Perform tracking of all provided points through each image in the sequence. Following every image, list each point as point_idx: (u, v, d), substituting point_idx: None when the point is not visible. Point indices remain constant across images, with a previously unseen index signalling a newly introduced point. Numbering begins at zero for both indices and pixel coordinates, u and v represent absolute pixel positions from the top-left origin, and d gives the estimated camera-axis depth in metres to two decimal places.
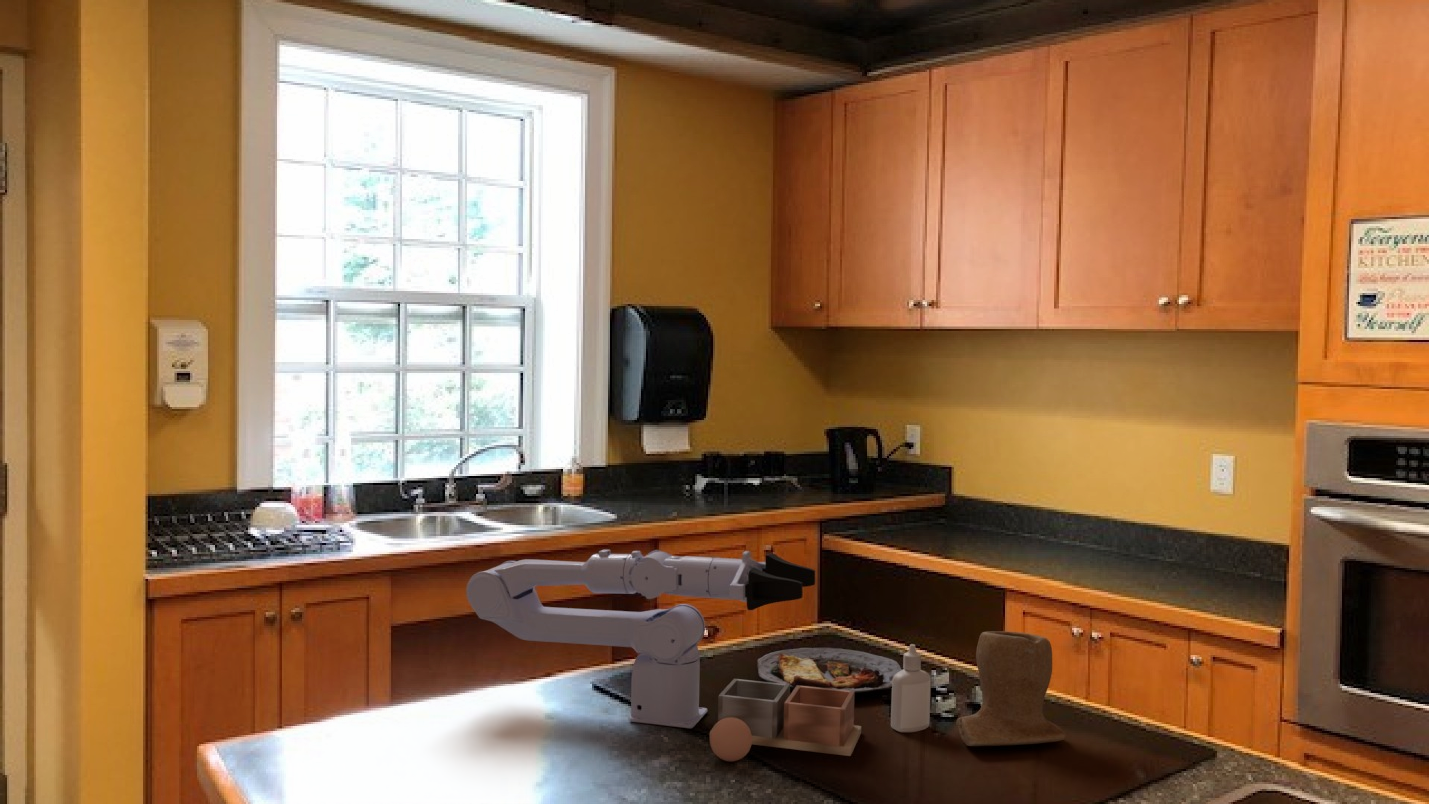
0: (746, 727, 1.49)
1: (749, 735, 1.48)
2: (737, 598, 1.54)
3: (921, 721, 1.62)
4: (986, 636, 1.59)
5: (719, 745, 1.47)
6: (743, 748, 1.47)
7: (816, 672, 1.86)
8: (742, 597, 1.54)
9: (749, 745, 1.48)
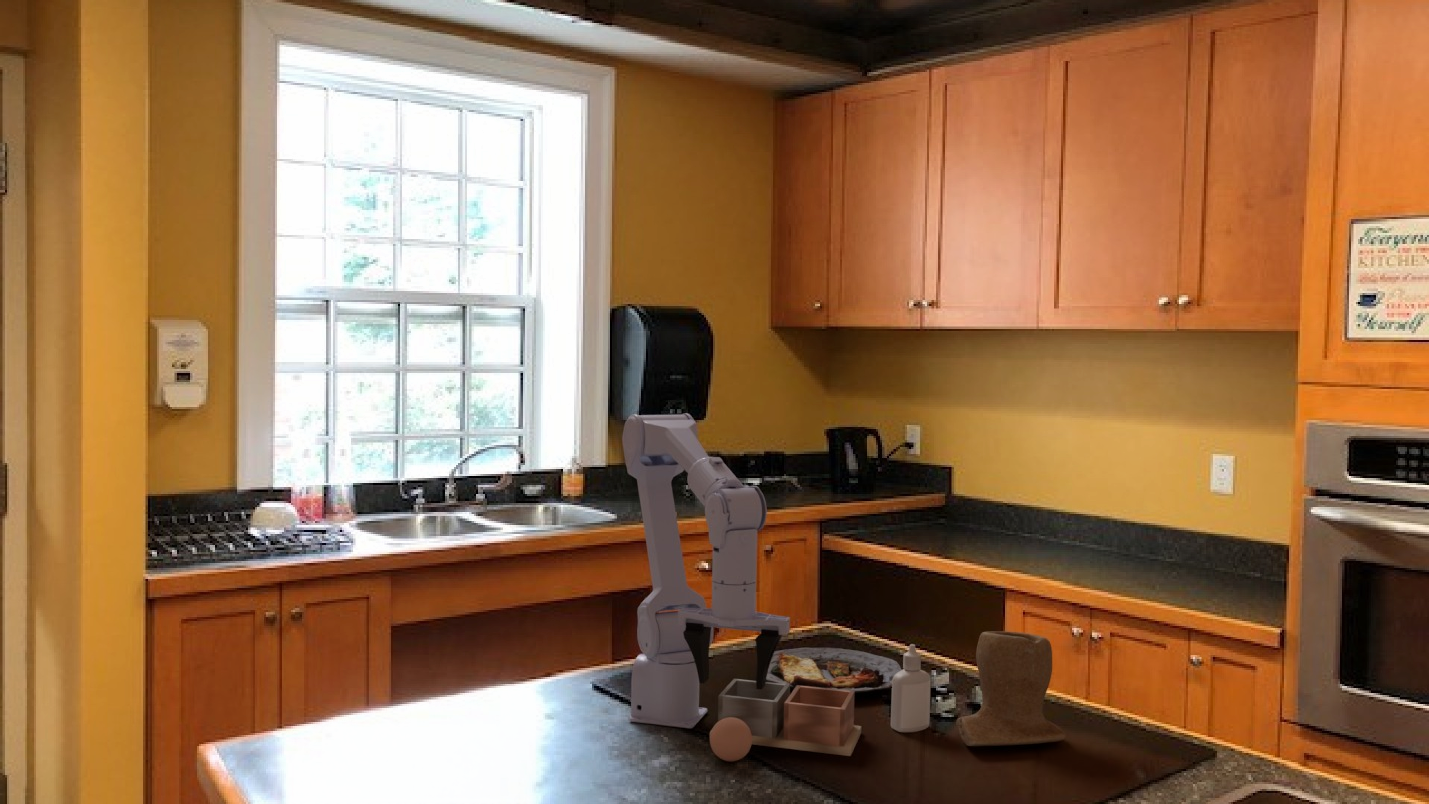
0: (746, 727, 1.49)
1: (749, 735, 1.48)
2: None
3: (921, 721, 1.62)
4: (986, 636, 1.59)
5: (719, 745, 1.47)
6: (743, 748, 1.47)
7: (816, 672, 1.86)
8: None
9: (749, 745, 1.48)
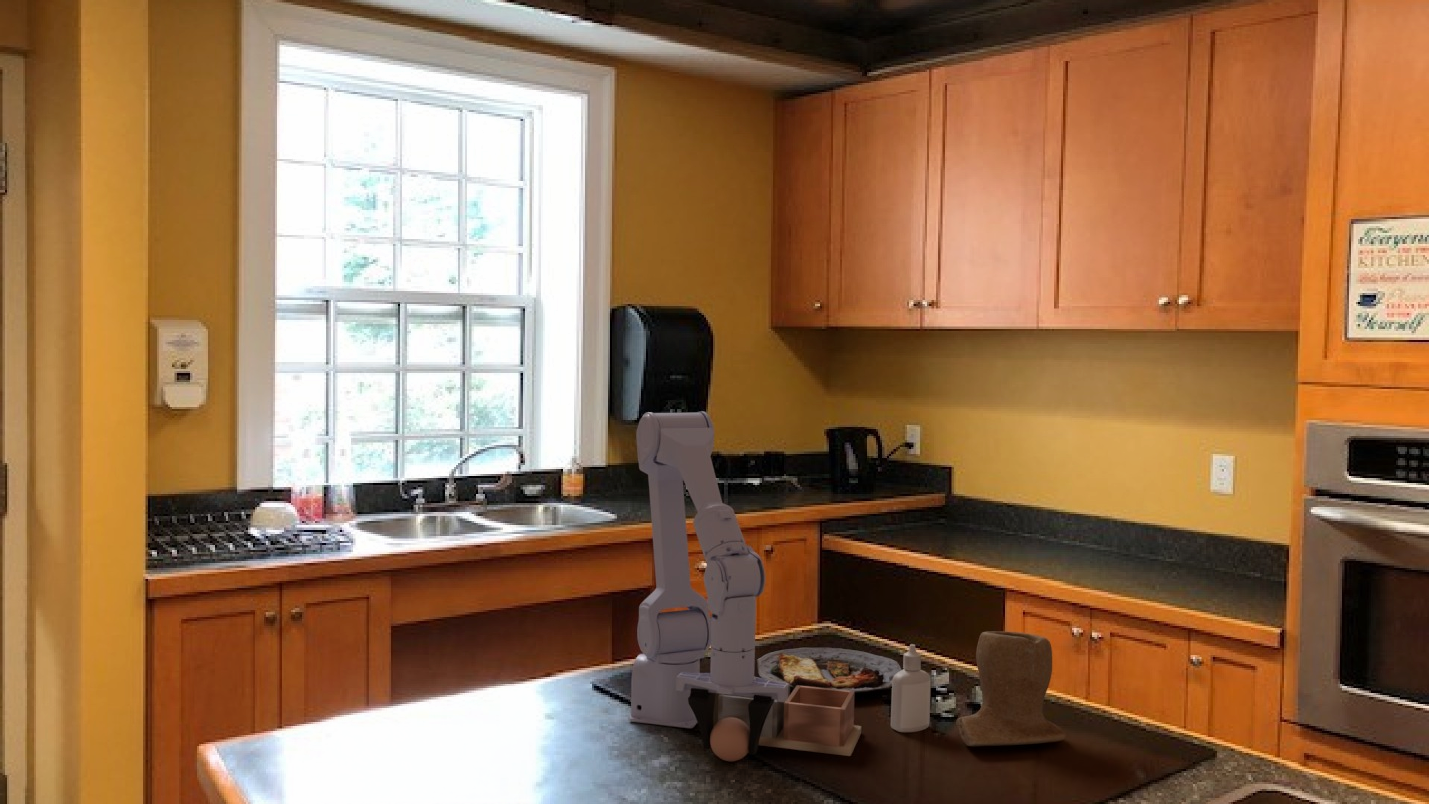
0: (746, 727, 1.49)
1: (749, 735, 1.48)
2: None
3: (921, 721, 1.62)
4: (986, 636, 1.59)
5: (719, 745, 1.47)
6: (743, 748, 1.47)
7: (816, 672, 1.86)
8: None
9: None
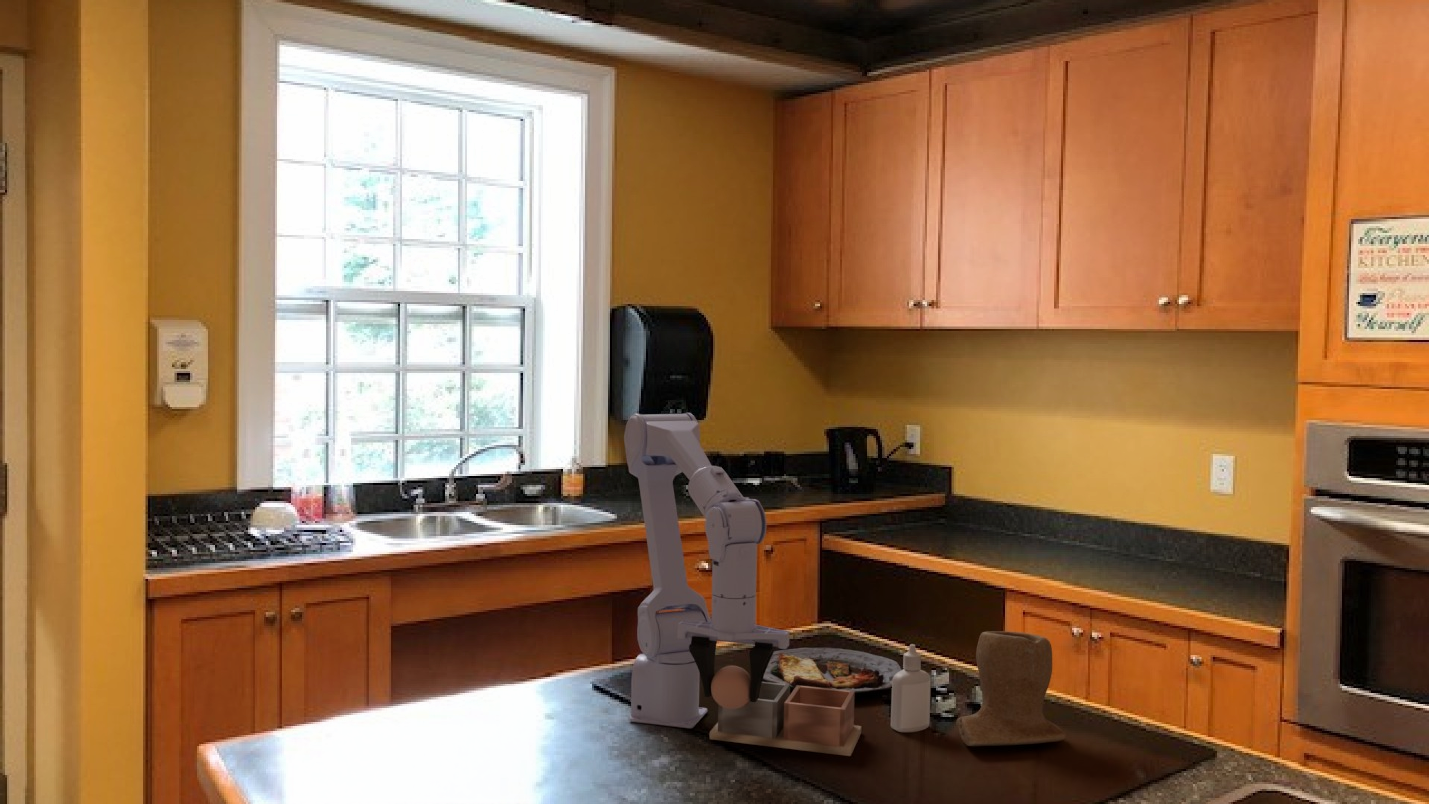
0: (747, 675, 1.48)
1: (750, 683, 1.48)
2: None
3: (921, 721, 1.62)
4: (986, 636, 1.59)
5: (720, 692, 1.47)
6: (744, 695, 1.47)
7: (816, 672, 1.86)
8: None
9: None
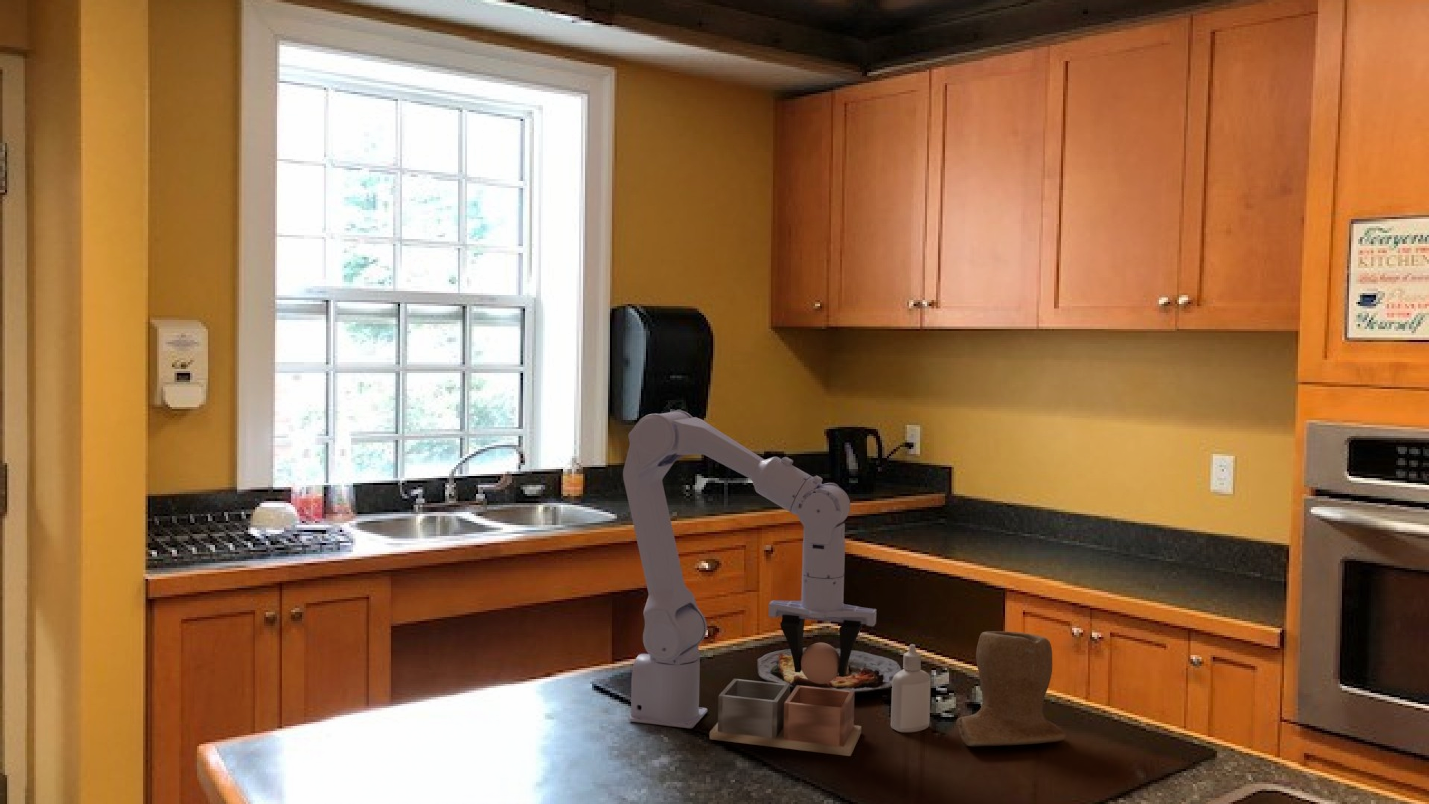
0: (835, 651, 1.56)
1: (839, 659, 1.56)
2: None
3: (921, 721, 1.62)
4: (986, 636, 1.59)
5: (810, 668, 1.55)
6: (833, 670, 1.55)
7: None
8: None
9: None
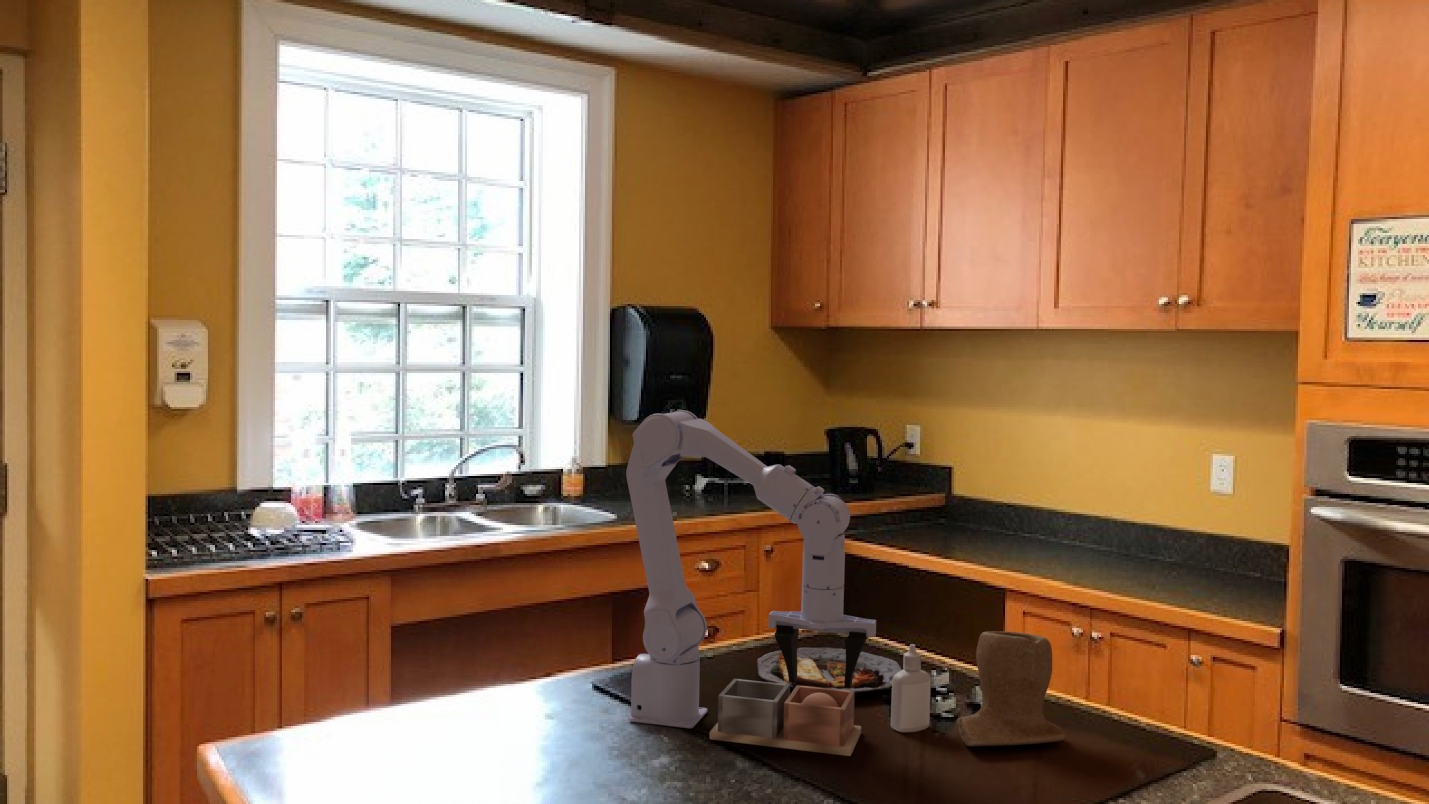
0: (834, 701, 1.57)
1: None
2: None
3: (921, 721, 1.62)
4: (986, 636, 1.59)
5: None
6: None
7: (816, 672, 1.86)
8: None
9: None
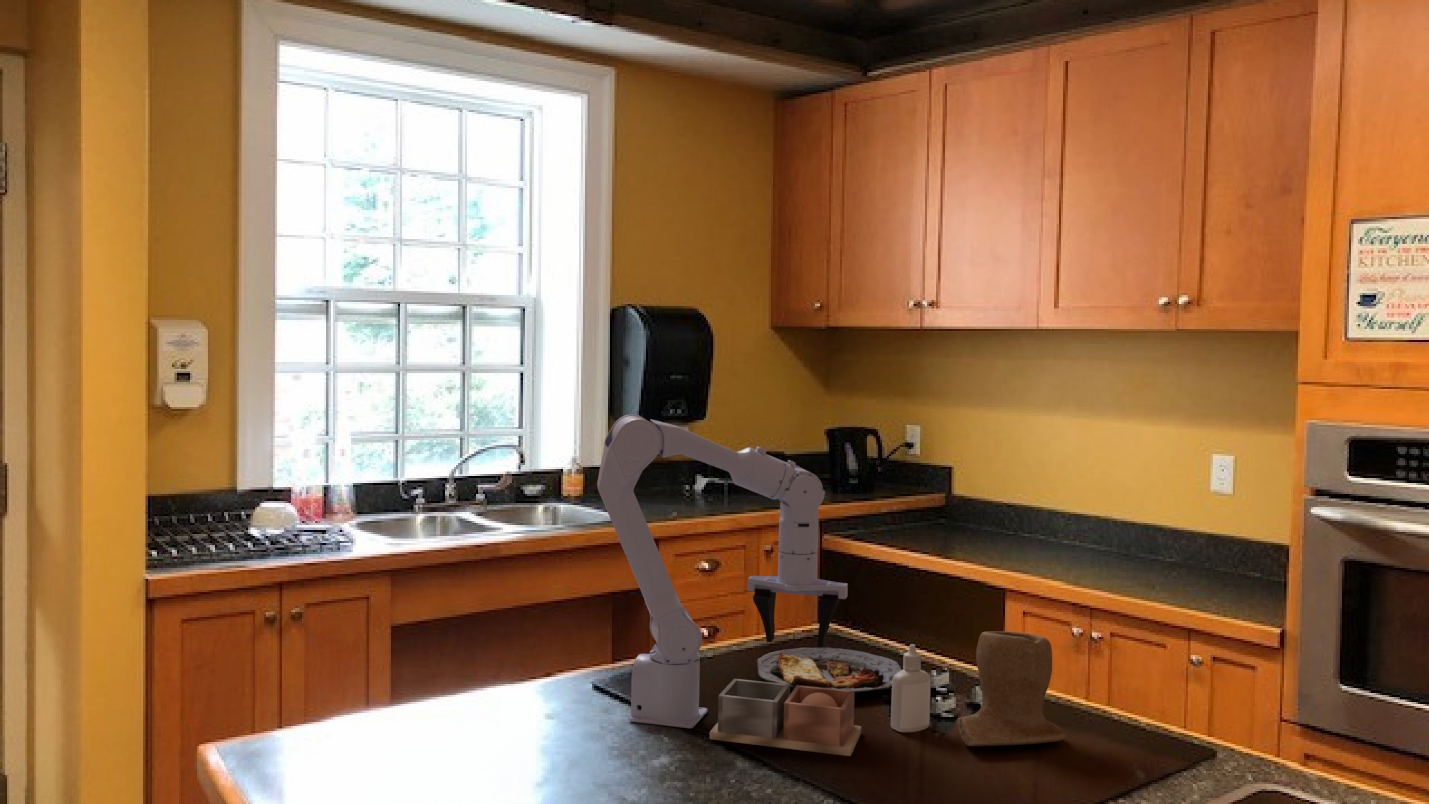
0: (833, 701, 1.57)
1: None
2: None
3: (921, 721, 1.62)
4: (986, 636, 1.59)
5: None
6: None
7: (816, 672, 1.86)
8: None
9: None
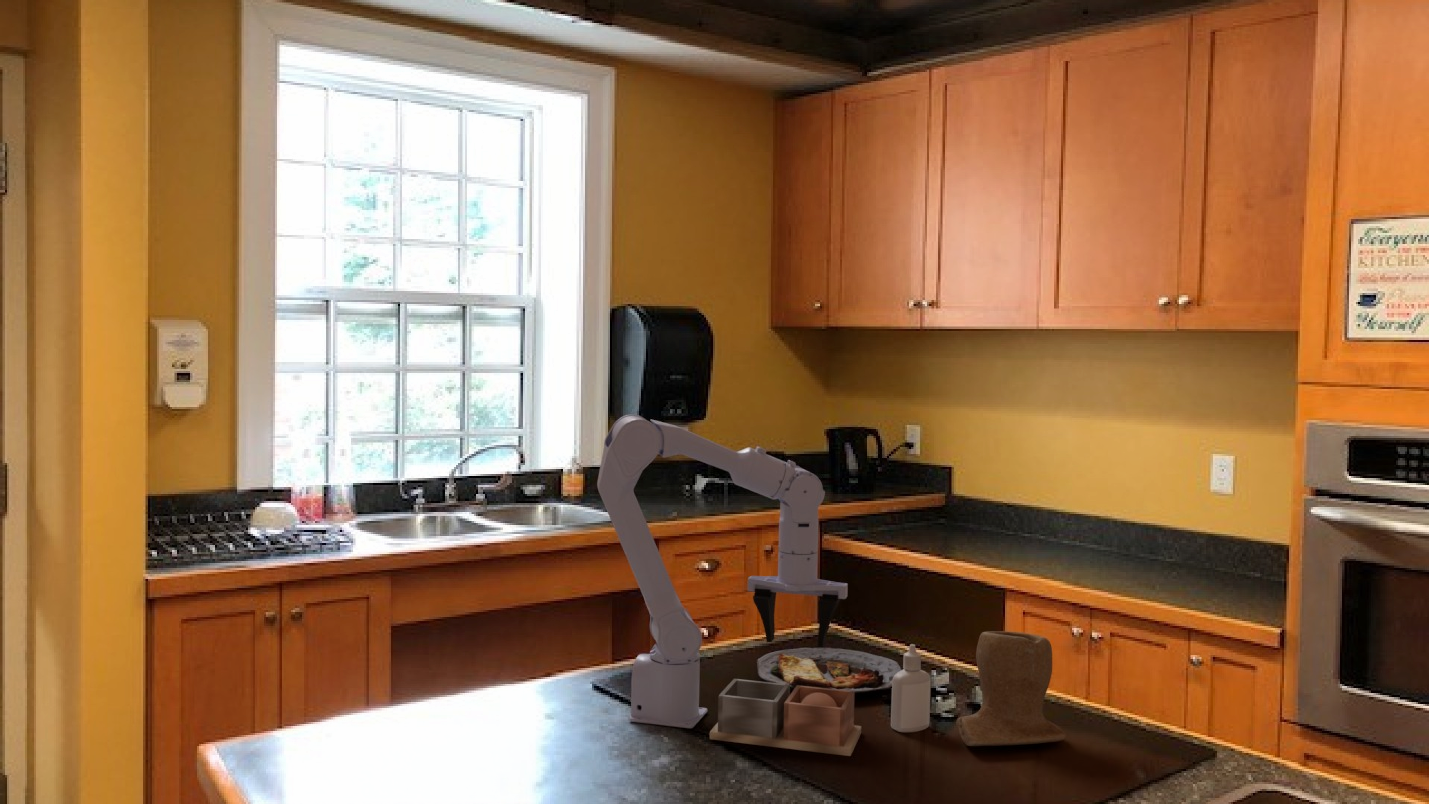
0: (833, 701, 1.57)
1: None
2: None
3: (921, 721, 1.62)
4: (986, 636, 1.59)
5: None
6: None
7: (816, 672, 1.86)
8: None
9: None
